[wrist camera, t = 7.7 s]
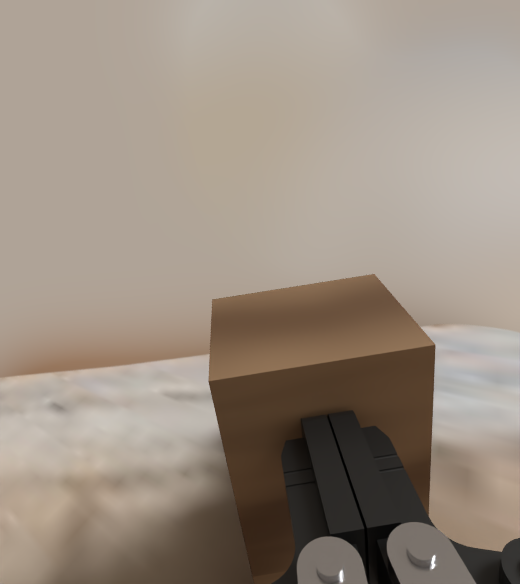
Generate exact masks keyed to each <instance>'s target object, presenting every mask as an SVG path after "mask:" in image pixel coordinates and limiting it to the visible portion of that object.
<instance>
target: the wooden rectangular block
mask: <svg viewBox="0 0 520 584" xmlns="http://www.w3.org/2000/svg"><path fill="white" fill-rule="evenodd" d="M434 367H435V344H434V343H433V341H432V340H431V339H430V338H429V337H428V336H427V335H426V333H425V332H424V331H423V330H422V329H421V328H420V327H419V325H418V324H417V323H416V322H415V321H414V320H413V319H412V317H411V316H410V315H409V314H408V313H407V311H406V310H405V309H404V308H403V307H402V306H401V305H400V303H399V302H398V301H397V300H396V299H395V298H394V297H393V296H392V294H391V293H390V292H389V291H388V290H387V288H386V287H385V286H384V285H383V284H382V283H381V281H380V280H379V279H378V278H377V277H376V276H375V274H372V275H366V276H359V277H353V278H346V279H340V280H334V281H328V282H321V283H315V284H309V285H302V286H296V287H289V288H283V289H276V290H270V291H264V292H257V293H251V294H245V295H238V296H232V297H226V298H219V299H213V300H212V319H211V340H210V362H209V385H210V390H211V394H212V399H213V403H214V407H215V412H216V416H217V421H218V425H219V430H220V434H221V439H222V443H223V447H224V452H225V456H226V461H227V465H228V470H229V474H230V479H231V483H232V487H233V492H234V496H235V501H236V505H237V510H238V514H239V519H240V523H241V527H242V532H243V536H244V541H245V545H246V550H247V554H248V559H249V563H250V567H251V572H252V576H253V581H254V584H271V583H273V582H274V581H276V580H277V579H279V578H280V577H281V576H282V575H283V574H284V573H285V572H286V571H287V570H288V568H289V566H290V565H291V563H292V560H293V558H294V554H295V542H294V536H293V530H292V524H291V518H290V512H289V506H288V500H287V494H286V487H285V481H284V474H283V468H282V461H281V454H282V450H283V447H284V444H285V441H286V440H292V439H298V438H302V429H301V420H300V419H301V418H307V417H313V416H319V415H326V416H327V414H330V413H337V412H343V411H349V410H353V411H354V413H355V415H356V417H357V420H358V422H359V424H360V427H361V428H364V427H370V426H376V427H378V428H379V429H380V430H381V431H382V432H383V433H384V434H386V435H387V436H388V437H389V438H390V440H391V442H392V444H393V446H394V448H395V450H396V452H397V455H398V456H399V458H400V460H401V462H402V464H403V466H404V470H406V472H407V474H408V476H409V478H410V480H411V482H412V484H413V486H414V488H415V490H416V492H417V494H418V496H419V498H420V500H421V502H422V504H423V506H424V508H425V510H426V512H427V514H428V516H429V491H430V466H431V441H432V417H433V392H434Z"/></svg>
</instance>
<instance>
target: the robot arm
mask: <svg viewBox="0 0 520 584" xmlns="http://www.w3.org/2000/svg"><path fill="white" fill-rule="evenodd" d="M300 420H301V429H302V438H298V439H292V440H286V441H285V444H284V447H283V450H282V454H281V461H282V468H283V474H284V481H285V487H286V494H287V500H288V506H289V512H290V518H291V524H292V530H293V536H294V542H295V554H294V558H293V560H292V563H291V565H290V566H289V568H288V570H287V571H286V572H285V573H284V574H283V575H282V576H281V577H280V578H279V579H277V580H276V581H274V582H273V583H271V584H520V538H518V539H514V540H512V541H510V542H509V543H508V544H506V546H505V547H504V548H503V551H502V552H498V551H492V550H485V549H478V548H472V547H467V546H464V545H461V544H458V543H456V542H454V541H452V540H451V539H449V538H447V537H446V536H445V535H444V534H443V533H442V532H441V531H439V530H438V529H437V528H436V527H435V526H434V525H433V523H432V522H431V520H430V518H429V516H428V514H427V512H426V510H425V508H424V506H423V504H422V502H421V500H420V498H419V496H418V494H417V492H416V490H415V488H414V486H413V484H412V482H411V480H410V478H409V476H408V474H407V472H406V470H404V466H403V464H402V462H401V460H400V458H399V456H398V455H397V452H396V450H395V448H394V446H393V444H392V442H391V440H390V438H389V437H388V436H387V435H386V434H384V433H383V432H382V431H381V430H380V429H379V428H378V427H376V426H370V427H364V428H361V427H360V424H359V422H358V420H357V417H356V415H355V413H354V411H353V410H349V411H343V412H337V413H330V414H327V416H326V415H319V416H313V417H307V418H301V419H300Z"/></svg>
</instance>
